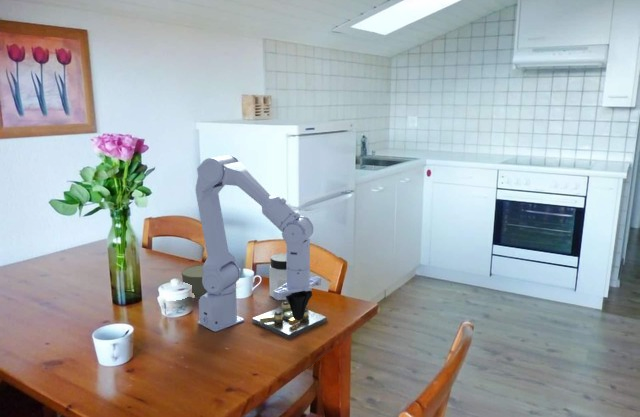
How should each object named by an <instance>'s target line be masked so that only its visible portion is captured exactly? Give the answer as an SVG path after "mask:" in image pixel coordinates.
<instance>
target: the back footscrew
mask: <svg viewBox="0 0 640 417" xmlns="http://www.w3.org/2000/svg"><path fill="white" fill-rule="evenodd" d="M281 307H282V312H287V311H291V307H290V304H289V302H288V300H283V301H282V302H281Z"/></svg>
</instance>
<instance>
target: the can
mask: <svg viewBox="0 0 640 417" xmlns="http://www.w3.org/2000/svg"><path fill="white" fill-rule="evenodd" d="M203 265H204V263H203V264H197V265H191V266H187V267H185V268H183V269H182V270H181V277H182V283H183V282H185V283H188V284H190V285H192V293H194V295H195V298H194V299H197V298H200V297H201V296H203V295H205V294H206V293H207V290H206V289H205V288H204V286H203V283H202V278H203Z"/></svg>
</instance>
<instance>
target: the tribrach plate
mask: <svg viewBox="0 0 640 417" xmlns="http://www.w3.org/2000/svg"><path fill="white" fill-rule="evenodd" d="M308 310H309V309H308ZM276 311H281V312H282V306H279V307H277V308H275V309H272V310H269V311H267V312H265V313H262V314H260V315H257V316H254V317H252V318H251V319H252V322H251V323H253V324H255V325H258V326H260V327H262V328H264V329H266V330H269V331H271V332H272V333H274V334H277V335H279V336H281V337H284V338H286V339H288V340H289V339H291V338H293V337H296V336H297V335H300V334H303V333H305V332H307V331H309V330H312V329H314V328H316V327H318V326H320V325H322V324H324V323H326V322H328V317H327V316H324V315H322V314H321V313H317V312H314V311H312V310H309V319H307V320H301V321H300V322H298V323H296V324H294V325H293V326H292V325H289V319H291V318H292V317H293V314H292V310H291V311H287V312H282V313H283V322H282V323H275V322H270V323H262V324H261V323H260V317H263V316H271V315H274V313H275V312H276Z"/></svg>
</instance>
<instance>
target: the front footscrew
mask: <svg viewBox="0 0 640 417" xmlns="http://www.w3.org/2000/svg"><path fill="white" fill-rule="evenodd" d="M307 319H309V309H308V308H306V309H305V312H304V316H303V319H302V320H307ZM300 321H301V320H296V319H294V318H293V317H292V318H291V319H289V325H292V326H293V325H294V324H296V323H298V322H300Z"/></svg>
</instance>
